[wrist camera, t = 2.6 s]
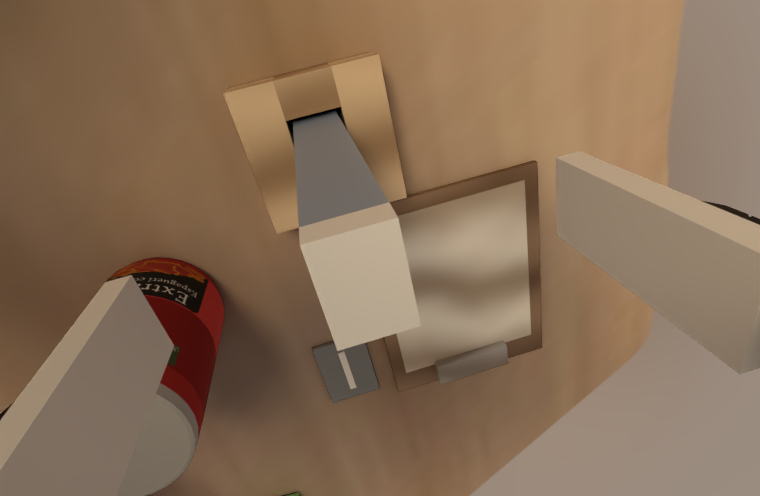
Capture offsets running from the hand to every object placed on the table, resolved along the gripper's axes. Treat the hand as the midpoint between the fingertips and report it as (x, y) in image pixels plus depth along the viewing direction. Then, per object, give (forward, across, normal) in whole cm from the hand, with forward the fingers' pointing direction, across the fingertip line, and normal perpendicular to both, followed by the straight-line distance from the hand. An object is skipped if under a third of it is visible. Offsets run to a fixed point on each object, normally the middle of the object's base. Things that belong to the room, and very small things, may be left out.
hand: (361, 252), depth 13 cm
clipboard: (+14, +7, -13) cm, 20 cm away
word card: (+14, -3, -18) cm, 23 cm away
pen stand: (+14, 0, 0) cm, 14 cm away
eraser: (+14, 0, 0) cm, 14 cm away
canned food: (+14, -13, -8) cm, 21 cm away
